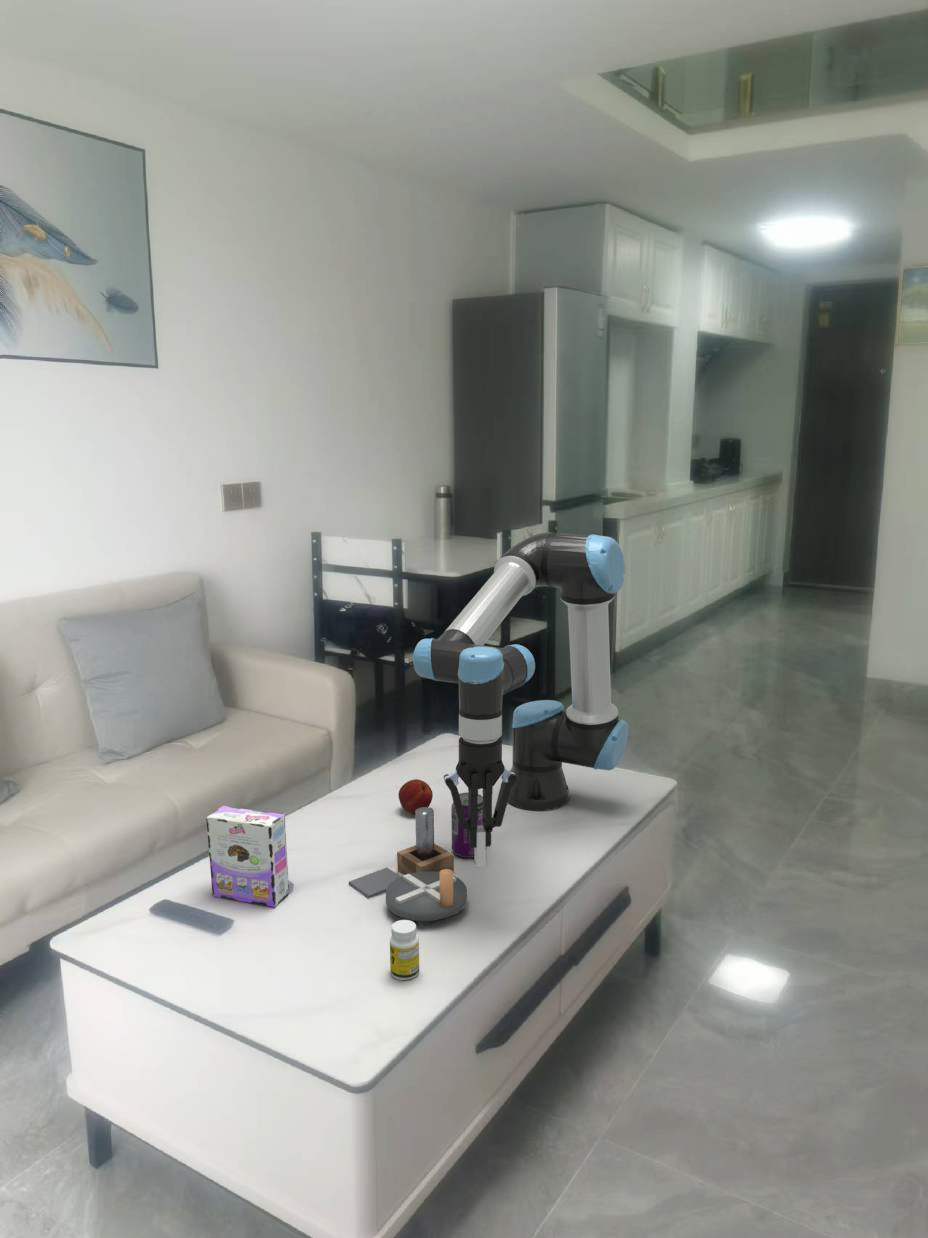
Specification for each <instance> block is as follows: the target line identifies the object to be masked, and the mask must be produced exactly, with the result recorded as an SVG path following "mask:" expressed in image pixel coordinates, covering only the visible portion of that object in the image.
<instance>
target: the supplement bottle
mask: <svg viewBox="0 0 928 1238" xmlns="http://www.w3.org/2000/svg"><path fill="white" fill-rule="evenodd" d="M390 933H391V935H390V938H389V955H390V957H389V959H390V960H389V963H390V974H391V976H392V977H393V978H394V979H396V980H399V981H407V980H408V981H409V980H411V979H414V978H416V977H418V975H419V974H420V942H419V940H420V938H419V935H418V934H417V925H416V922H414V921H413V920H411V919H400V920H397V921H395V922H393V923H392V924H391V931H390Z"/></svg>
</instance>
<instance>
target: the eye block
mask: <svg viewBox="0 0 928 1238" xmlns="http://www.w3.org/2000/svg"><path fill="white" fill-rule="evenodd" d="M454 854H455V853H453V852H450V851H448V850H447V849H446V848H443V847H442V846H439V845H438V844H436V843H435V842H434V857H433V858H430V859H428V860H425V861H422V860H420V859H418V858H417V857H416V844H415V845H413V846H410V847H407V848H404V849H402V850H399V851H397V852H396V859H397V860H396V861H397V864H396V865H397V871H398V872H399V873H401V875H406V874H410V873H415V872H423V871H434V872H440V871H441V870H443V869H450V870H452V871H453V874H454V872H455V869H454V868H455V867H454V866H455V864H454V861H455V859H454V858H455V857H454Z"/></svg>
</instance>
